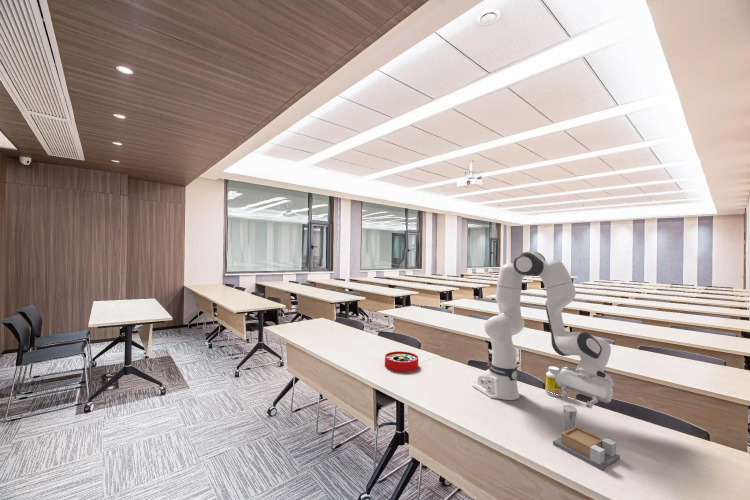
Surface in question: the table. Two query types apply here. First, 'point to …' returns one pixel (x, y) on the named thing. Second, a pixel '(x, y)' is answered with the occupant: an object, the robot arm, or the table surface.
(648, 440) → the table surface
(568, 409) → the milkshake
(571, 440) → the baseplate
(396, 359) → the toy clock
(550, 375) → the supplement bottle
